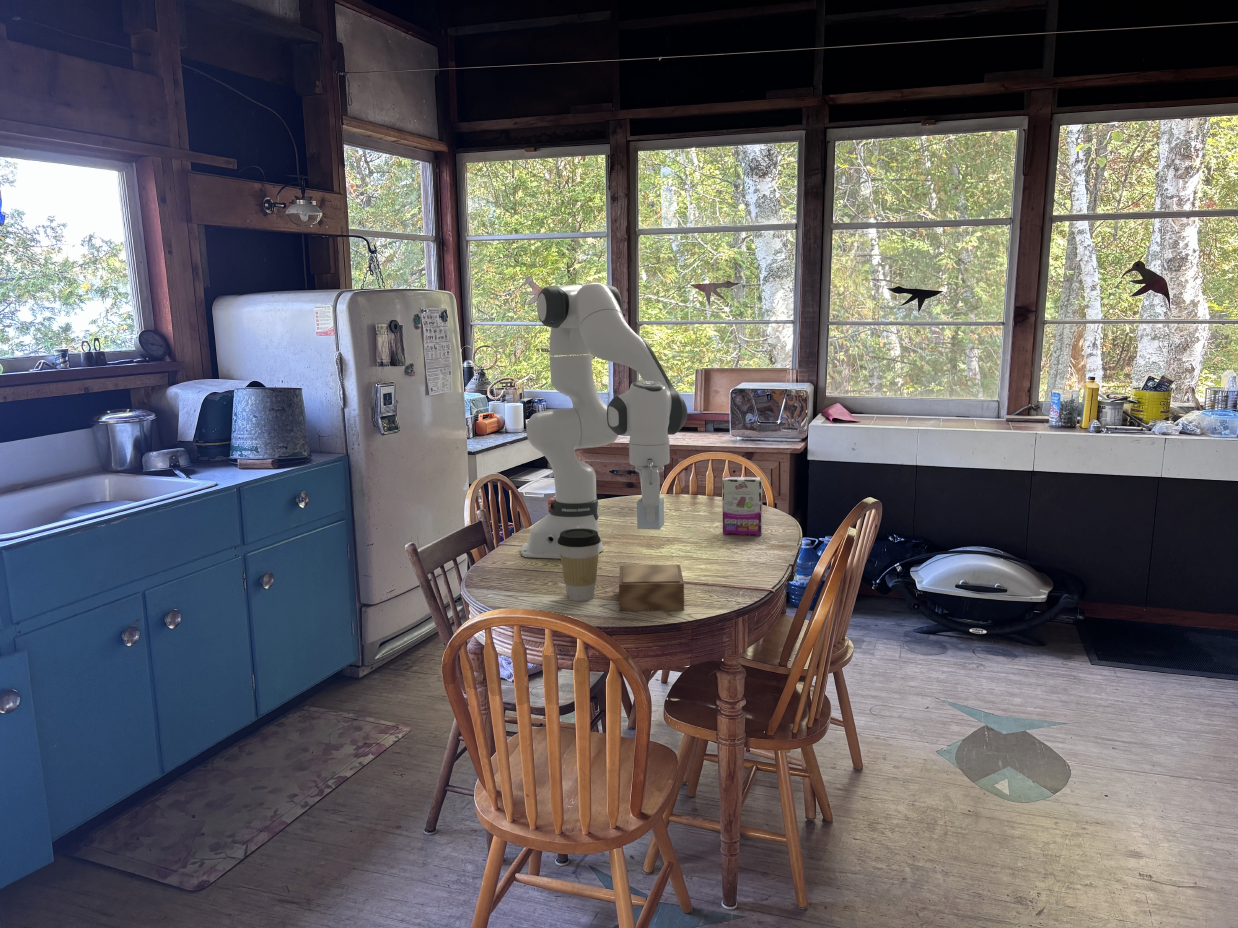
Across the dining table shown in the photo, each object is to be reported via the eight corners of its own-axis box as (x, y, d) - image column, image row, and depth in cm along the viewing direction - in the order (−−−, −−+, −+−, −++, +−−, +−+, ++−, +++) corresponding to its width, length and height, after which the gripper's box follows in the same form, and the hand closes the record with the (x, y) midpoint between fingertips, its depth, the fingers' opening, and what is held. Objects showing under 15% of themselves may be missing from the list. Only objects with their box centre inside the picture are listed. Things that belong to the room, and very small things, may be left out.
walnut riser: (619, 610, 187) (619, 583, 186) (620, 590, 201) (619, 564, 199) (684, 609, 187) (683, 582, 185) (680, 589, 200) (680, 563, 199)
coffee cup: (601, 589, 202) (600, 527, 199) (602, 603, 192) (600, 538, 189) (559, 590, 201) (557, 528, 199) (558, 604, 192) (556, 539, 189)
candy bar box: (762, 532, 250) (763, 476, 247) (761, 536, 246) (761, 480, 243) (724, 530, 253) (724, 475, 250) (722, 534, 248) (722, 479, 245)
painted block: (637, 528, 189) (636, 502, 188) (642, 523, 194) (641, 497, 193) (659, 529, 188) (659, 502, 187) (664, 524, 192) (663, 498, 191)
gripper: (665, 463, 178) (666, 528, 180) (662, 448, 198) (662, 506, 200) (635, 464, 178) (636, 529, 180) (634, 448, 198) (635, 507, 200)
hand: (650, 517), depth 190 cm, fingers closed on painted block, 6 cm apart
